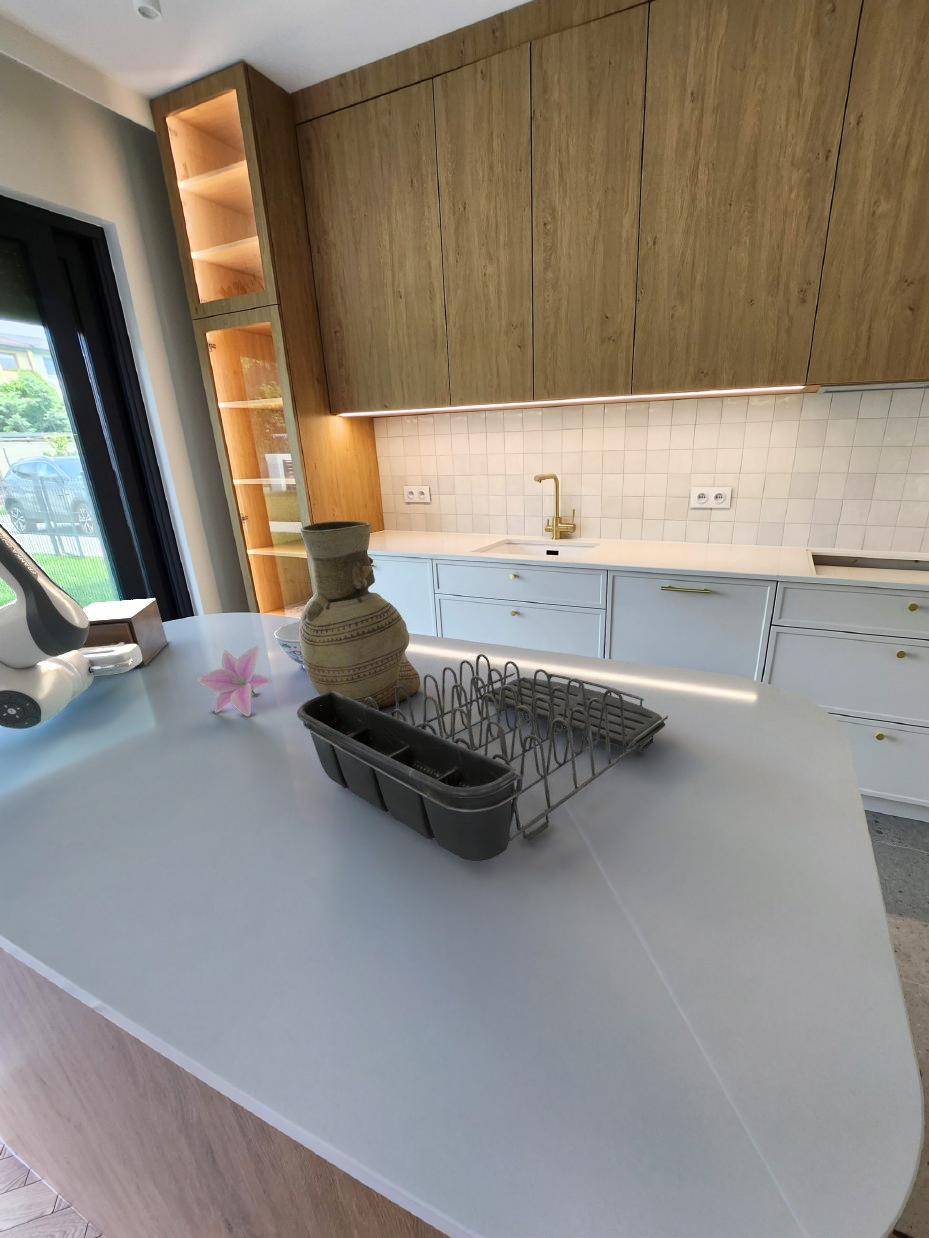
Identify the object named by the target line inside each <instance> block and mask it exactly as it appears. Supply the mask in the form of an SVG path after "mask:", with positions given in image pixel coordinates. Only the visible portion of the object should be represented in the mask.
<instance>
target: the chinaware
mask: <svg viewBox="0 0 929 1238" xmlns="http://www.w3.org/2000/svg"><path fill="white" fill-rule="evenodd" d="M299 628H300V620H299V621H296V622H295V621H294V622H291V623H287V624H285V625H282V626H281V627H279V628H278V629H276V630H275V632H274V638H275V640H276V642H277V644H278V646H279V648H280V650H282V652H283V653H284V654H285V655H286V656H287V657H288V658H289V659H291V660H292V661H293V662H295V663H297V664H300V665H302V667H303V669H304V670H306V669H305V666H304V663H303V658H302V653H301V646H300V637H299Z"/></svg>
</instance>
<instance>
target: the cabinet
mask: <svg viewBox="0 0 929 1238" xmlns="http://www.w3.org/2000/svg"><path fill="white" fill-rule="evenodd" d="M83 609H84V611H85V612H86V614H87V615H88V618H89V620H90V624H100V623H112V622H124V621H128V625H129V628H130V631H131V635H132V638H133V642H134V644H137V645H138V646H139V648H140V650H141V654H142V662H141V663H140V664H139V665H137V666H135V667H134V668H141V667H146V666H147V665H148V664H149V663H150V662H151V661H152V660H153V659H154V658H155V657H156V656H157V655H158V654H159V653H160V652H161V651H162V649H164V648H165V647H166V646H167V645H168V639H167V636H166V631H165V629H164V628H165V627H164V625H163V621H162V617H161V613H160V610H159V606H158V603H157V598H146V599H133V600H132V599H131V600H121V601H120V600H119V601H106V602H94V603H93V602H92V603H91V604H89V605H88V606H86V607H83Z"/></svg>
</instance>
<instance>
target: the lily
mask: <svg viewBox="0 0 929 1238" xmlns="http://www.w3.org/2000/svg"><path fill="white" fill-rule="evenodd" d="M259 652H260V646H259V645H255V646H253V647H251V648H250V649H247V650H246V651H245V652H244V653H242V654H241V655H240V656H239V657H238V658H236V657H235V656H234V655H233V654H232V653H231V652H229V650H227V649H224V650H223V651H222V656H221V668H218V669H214V670H212V671H209V672H207V673H204V674H202V675H201V676H199V677H198V678H197V683H199V684H200V685H201V686H203V687H205V688H207V689H209V690H211V691H213V692H217V693H218V694H217V696H216V701H215V705H214V713H215V714H216V713H219V712H220V711H222V710H223V709H225V708H226V707H228V706H229V705H231V704H232V705H233V707H235V708H236V709H237V710H238V711H239V712H240V713H241V714H242V715H244V716H245V717H250V715H251V713H252V712H251V711H252V695H253V696H254V697H256V696H257V694H256V693H255V691H256V690H258V689H260V688H264V687H265V686H267V685H270V684H271V683H272V680H271V679H269V678H268V677H266V676H264V675H262V674H260V673H257V672H255V670H256V664H257V660H258V656H259Z"/></svg>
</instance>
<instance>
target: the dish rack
mask: <svg viewBox="0 0 929 1238" xmlns="http://www.w3.org/2000/svg"><path fill="white" fill-rule="evenodd" d="M481 657H482V658H484V660H485V662H486V665H487V679H486V680H487V681H486V683H485V681H484V680H483V679H482V677H481V676H480V673H479V672H480V670H479V669H480V668H479V667H480V666H479V665H480V659H481ZM464 664H467V665H468V667H470V671H471V676H472V677H471V678H470V682H469V684H470V685H469V699H468V695H467V691H466V689H465V688H464V686H463V665H464ZM508 665H512V666H513V667H514V668H515V670H516V672H512V673H509V674H507V668H508ZM503 669H504V670H503V675H502V673H501V671H499V669H497V668H495V667H491V663H490V660H489V657H487V655H485V654H483V653H480V654H477V655H476V659H475V670H474V666H473V664H472V663H471V662H470V661H469V660H466V659H463V660H462V661H460V663H459V683H458V678H457V674H456V671H455V670H454V669H453V668H451V666H445V667H444V668H443V669H442V676H441V680H442V681H441V695H440V689H439V684H438V681H437V679H436V677H435V676H433V675H432V674H429V673H428V674H425V675H424V676H423V702H422V705H423V706H422V710H423V712H422V722H421V723H419V724H417V725H416V721H415V715H414V711H413V705H412V701H411V696H410V695H409V692H408V691H407V689H406V688H405V687H404V686H402V685H399V686H397V687H396V703H395V708H394V709H392V711H391V715H390V714H388V713H386V712H383V711H382V710H379V709H380V708H378V706H377V704H376V702H375V700H373V699H372V698H371V697H367V698H366V699H365V701H364V704H362V703H360V702H357V701H355V700H353V699H351V698H348V697H346V696H344V695H342V694H339V693H337V692H335V691H333V692H327V693H324V694H321V695H319V694H318V695H315V696H314V697H311V698H309V699H307V700H306V701H304V702H302V704H301V705H299V707H298V708H297V710H296V715H297V717H298V719H299V720H300V721H302V725H303V727H304V729H306V730H307V731H309V733H310V736H311V740H312V742H313V745H314V748H315V750H316V754H317V757H318V760H319V762H320V765H321V767H322V769H323V770H324V774H325V775H326V776H327V777H328V778H329V779H330V780H332V781H333V782H334V783H336V784H337V785H339V786H341V787H342V788H344V789H349V790H350V791H351V793H353V794H354V795H355V796H357V797H358V798H361V799H363V800H364V801H366V802H367V803H369V804H371V805H372V806H374V807H375V808H377V809H379V810H380V811H381V812H383V813H389V814H390V815H391V817H392V818H394V819H395V820H396V821H398V822H400V823H402V824H403V825H405V826H406V827H408V828H410V829H411V830H413V831H415V832H416V833H418V834H420V835H421V836H423V837H424V838H426V839H427V840H428V839H429V840H435V842H436V843H437V845H438V846H440V847H441V848H442V849H445V850H446V851H448V852H450V853H451V854H453V855H455V856H456V857H459V858H461V859H463V860H466V861H470V862H483V861H489V860H491V859H493V858H496V857H498V856H500V855H501V854H503V853H504V852H505V851H506V850H507V849H508V846H509V843H510V842H511V841H513V840H514V839H515V838H516V837H518V836H519V835H521V834H522V838H523V839H524V840H525V841H528V842H529V841H531V840H533V839H534V838H535V837H537V836H538V835H539V834H541V833H542V832H544V831H545V830H547V828H549V823H550V818H549V814H551V813H552V812H553V811H555V810H556V809H557V808H559V807H561V805H563V804H564V803H565V802H567V801H568V800H569V799H570V798H571V799H572V798H573V797H574V796H575V795H576V794H577V793H579V792H580V791H582V790H583V789H584V788H586V787H587V786H588V785H589V784H591V783H593V781H595V780H596V779H598V778H599V777H601V775H603V774H604V773H605V772H607V771H608V770H609V769H611V768H612V767H614V766H615V765H616V764H617V763H618V762H619V761H621V760H623V759H624V758H625V757H626V756H627V755H629V754H630V753H631V752H634V750H636V749H638V752H640V753H644V751H645V750H647V749H648V748H649V747H650V746H651V745H652V744H654V736H655V734H658V733H659V732H660V731H661V730H662V729H663V728H665V727H666V723H665V721H666V720H667V719H669V715H667V714H666V715H665V716H664V717H662V716H661V715H660V714H659V713H658V712H656V711H653V710H651V709H650V708H649V709H648V708H646V707H644V706H643V702H644V701H645V699H644V698H643V697H642V696H638V695H635V694H632V693H629V692H626V691H623V690H619V689H617V688H614V687H611V686H608V685H603V684H599V683H595V682H592V681H588V680H583V679H579V678H577V677H570V676H565V675H561V674H556V673H548V672H547V671H546V670H545V669H542V668H538V669H536V670H535V671H534V674H533V677H527V676H521V674H520V669H519V667H518V665H517V663H515V661H512V660H508V661H506V662H505V663H504V667H503ZM447 670H448V671H450V672H451V673H452V676H453V681H454V684H453V685H452V687H451V697H450V698H451V701H450V709H449V710H447V711H445V707H446V705H445V704H446V702H445V701H446V699H445V695H446V687H445V684H446V679H445V678H446V671H447ZM492 672H495V673H496V674H497V675H498V676H499V678H497V679H494V680H493V675H492ZM539 673H543V674H544V675H545V677H546V679H547V680H546V679H540V678H537V676H538V674H539ZM515 675H516V679H512V680H510V681H509V682H507V679H508V678H511V677H513V676H515ZM427 678H430V679H431V680H432V681H433V683H434V688H435V691H436V697H437V700H436V699H435V697H434V696H431V695H427ZM552 678H558V679H563V680H567V683H563V682H559V681H552V680H551V679H552ZM479 681H480V683H481V685H480V686H479ZM499 682H500V686H498V687H494V684H497V683H499ZM571 683H575V684H578V686H577V685H574V684H571ZM584 684H585V685H589V686H593V687H597V688H600V689H603V690H605V692H601V691H598V690H593V689H590V688H586V687H585V685H584ZM490 687H491V690H490ZM399 688H402V689H403V690H404V691H405V692H406V695H407V703H408V710H409V715H410V719H411V723H410V722H408V721H407V717H406V715H405V714H404V712H403V711H402V710H400V706H399V705H400V704H399V702H398V689H399ZM473 689H474V693H473ZM482 690H483V691H482ZM482 692H483V693H482ZM612 693H613V694H614V695H615V696H613V695H612ZM455 694H456V698H457V704H458V706H456V707H455ZM473 694H475V698H474V699H473V697H474V696H473ZM462 695H463V696H462ZM622 695H623V696H626V697H629V698H631V699H632V698H633V699H635V700H639V704H637V703H634V702H631V701H627V700H626V699H623V696H622ZM616 696H617V697H616ZM463 697H464V703H463V704H462V698H463ZM428 700H430V701H431V702H433V704H434V706H435V707H434V708H435V712H436V716H434V717H432V718H430V719H428V718H427V716H428V715H427V711H428V709H427V705H428V704H427V702H428ZM468 700H469V701H468ZM367 701H371V702H372V703H373V706H374V708H375V709H374V708H371V707H369V706H367ZM474 703H476V707H477V713H478V716H479V721H477V722H474V723H472V711H473V709H472V707H473V705H474ZM489 703H490V704H493V705H494V707H495V713H493V714H491V715H490V710H489V709H490V708H489ZM464 707H465V709H464ZM484 710H485V716H484ZM508 710H511V711H514V717H513V727H512V726H511V725H510V722H509V715H508ZM457 712H459V715H460V721H461V725H462V726H463V727H464V728H462V729H460V730H458V731H456V717H457V716H456V715H457ZM503 712H504V716H505V724H506V727H507V728H508V729H509V730H507V731H506V732H505V730H504V728H503V726H502V723H501V722H502V713H503ZM449 714H450V729H449V733H448V732H447V728H446V724H445V723H446V722H445V716H447V715H449ZM520 714H522V719H523V720H524V721H525V722H522V723H521V719H520ZM527 716H529V718H527ZM400 717H401V718H402V719H400ZM493 717H496V720H491V718H493ZM464 718H465V719H464ZM436 720H437V726H438V731H439V735H438V732H437V730H436V728H435V727H434V725H432V722H434V721H436ZM465 720H466V723H465ZM486 720H487V723H486V726H485V737H484V738H485V739H484V743H483V741H482V740H483V729H484V727H483V726H484V725H483V723H484V722H485V721H486ZM539 720H541V721H545V722H547V726H546V734H545V738H543V737H542V736H541V731H540V723H539ZM528 723H530V734H527V735H525V736H524V738H523V735H522V733H523V732H522V727H523V726H525V725H526V724H528ZM477 725H479V736H478V746H477V745H476V744H475V739H474V733H473V727H475V726H477ZM492 725H495V727H497V732H496V736H494V734H493V730H492ZM535 725H536V726H535ZM557 726H560V727H561V728H560V729H559V728H558V727H557ZM427 727H428V728H429V729H430V730H431V731H428V730H427ZM535 727H536V730H535ZM517 729H518V730H517ZM466 730H467V733H468V740H466V739H465V737H456V735H458V734H460V733H462V732H464V731H466ZM566 730H567V735H566V742H565V748H564V756H563V761H562V762H560V761H559V760H558V756H557V745H556V736H557V735H559V734H560V733H562V732H564V731H566ZM517 731H518V738H519V744H520V748H521V753H519V754H517V755H515V745H516V733H517ZM555 731H556V732H555ZM573 731H574V732H576V733H577V732H578V733H580V734H582V736H581V743H580V748H579V751H576V749H575V747H574V738H573ZM510 733H512V738H511V746H510V757H509V753H508V747H507V739H506V735H508V734H510ZM536 733H537V736H536ZM444 735H445V736H446V737H444ZM489 736H490V738H491V739H490V740H489ZM450 738H451V740H448V739H450ZM593 739H595V740H594V741H593ZM497 740H499V744H500V750H501V753H499V752H498V753H494V754H493V755H492V757H489V756H488V751H489V750H488V749H489V744H491V743H493V742H495V741H497ZM528 740H529V742H528ZM548 740H549V743H548V751H547V761H546V758H545V749H544V748H545V747H544V745H543V743H545V742H547V741H548ZM585 740H587V741H588V746H587V747H585V746H584V745H585ZM601 741H603V742H605V748H606V755H607V765H605V766H604V767H603V768H601V769H600V770H599V771H597V772H596V771H595V770H596V768H595V767H596V766H595V757H594V748H593V747H594V746H596V744H598V743H599V742H601ZM646 741H647V743H645V742H646ZM459 743H461V744H463V745H465V746H466V747H465V746H463V745H460V744H459ZM482 743H483V744H482ZM527 744H528V748H527ZM643 744H644V745H643ZM611 745H614V746H616V747H619V748H622V752H623V753H622V754H621V755H619V756H617V757H616V758H615V759H613V760H612V756H611ZM538 746H539V750H540V751H539V753H540V760H541V768H542V772H541V771H540V764H539V756H538V749H537V747H538ZM584 747H585V748H584ZM482 748H484V754H482V753H480V752H477V751H479V750H480V749H482ZM532 750H533V757H534V763H535V771H536V773H537V775H538V776H539V777H540V778H538V779H536V780H535V781H534V782H532V783H531V784H529V785H527V786H526V787H525V788H523V782H524V772H525V761H526V754H527V753H528V752H531V751H532ZM569 751H570V753H569V754H570V758H568V752H569ZM586 751H589V759H590V769H591V777H590V778H588V779H587V780H585V781H584V782H582V783H581V784H579V785H578V776H577V767H576V759H575V758H577V757H579V756H580V755H581V754H583V753H585V752H586ZM552 752H553V760H554V762H555V764H556V765H558V766H556V767H555V768H553V769H552V770H550V767H551V759H552ZM514 755H515V756H514ZM518 758H521V759H520V769H519V770H520V771H519V773H517V772H516V768H515V767H514V766H512V764H511V763H512V762H513V761H515V760H517V759H518ZM498 759H500V760H502V761H504V762H502V761H499V760H498ZM569 762H570V763H571V772H572V773H571V774H572V781H573V785H574V786H573V787H574V789H573V790H572V791H570V792H569V793H568V794H566V795H565V796H563V797H562V798H561V799H560V800H558V801H557V802H556V803H554V804H553V805H552V802H551V795H550V794H551V793H550V787H549V780H548V776H550V775H552V774H553V773H555V772H556V771H557V770H559V769H561V768H562V767H564V766H565V765H567V764H568V763H569ZM542 781H543V787H544V794H545V801H546V807H547V808H545V809H544V810H543V812H541V813H540V814H538V815H537V816H536V817H534V818H533V819H531V820H530V821H528V822H527V823H526V824H524V825H522V826H521V822H520V817H519V809H518V801H519V796H521V795H522V794H524V793H525V792H526V791H528V790H529V789H531V788H532V787H534V786H535V785H537V784H538V783H540V782H542ZM515 782H516V785H515ZM513 818H515V825H516V830H515V831H514V832H513V833H512V834H511V827H512V822H513ZM543 818H545V821H543V822H542V823H541V824H540V825H538V826H537V827H535V828H534V829H533V830H531V831H529V832H528V833H526V831H527V830H528V829H529V828H530V827H532V826H533V825H535V824H536V823H538V822H539V821H541V820H542V819H543Z"/></svg>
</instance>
